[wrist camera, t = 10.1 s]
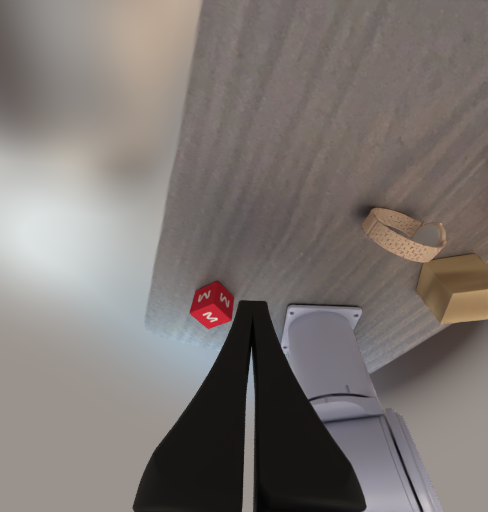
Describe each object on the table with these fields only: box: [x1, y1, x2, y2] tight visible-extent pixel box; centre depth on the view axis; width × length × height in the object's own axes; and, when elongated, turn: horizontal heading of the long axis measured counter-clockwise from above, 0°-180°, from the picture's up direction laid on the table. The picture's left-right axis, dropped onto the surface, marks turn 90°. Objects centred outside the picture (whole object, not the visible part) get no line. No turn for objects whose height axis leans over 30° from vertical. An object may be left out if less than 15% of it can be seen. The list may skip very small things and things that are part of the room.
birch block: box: [416, 254, 488, 324], centre depth 20 cm, size 4×4×4 cm
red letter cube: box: [189, 281, 234, 329], centre depth 24 cm, size 3×3×3 cm
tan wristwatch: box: [362, 208, 447, 263], centre depth 16 cm, size 3×5×5 cm, turn 76°
